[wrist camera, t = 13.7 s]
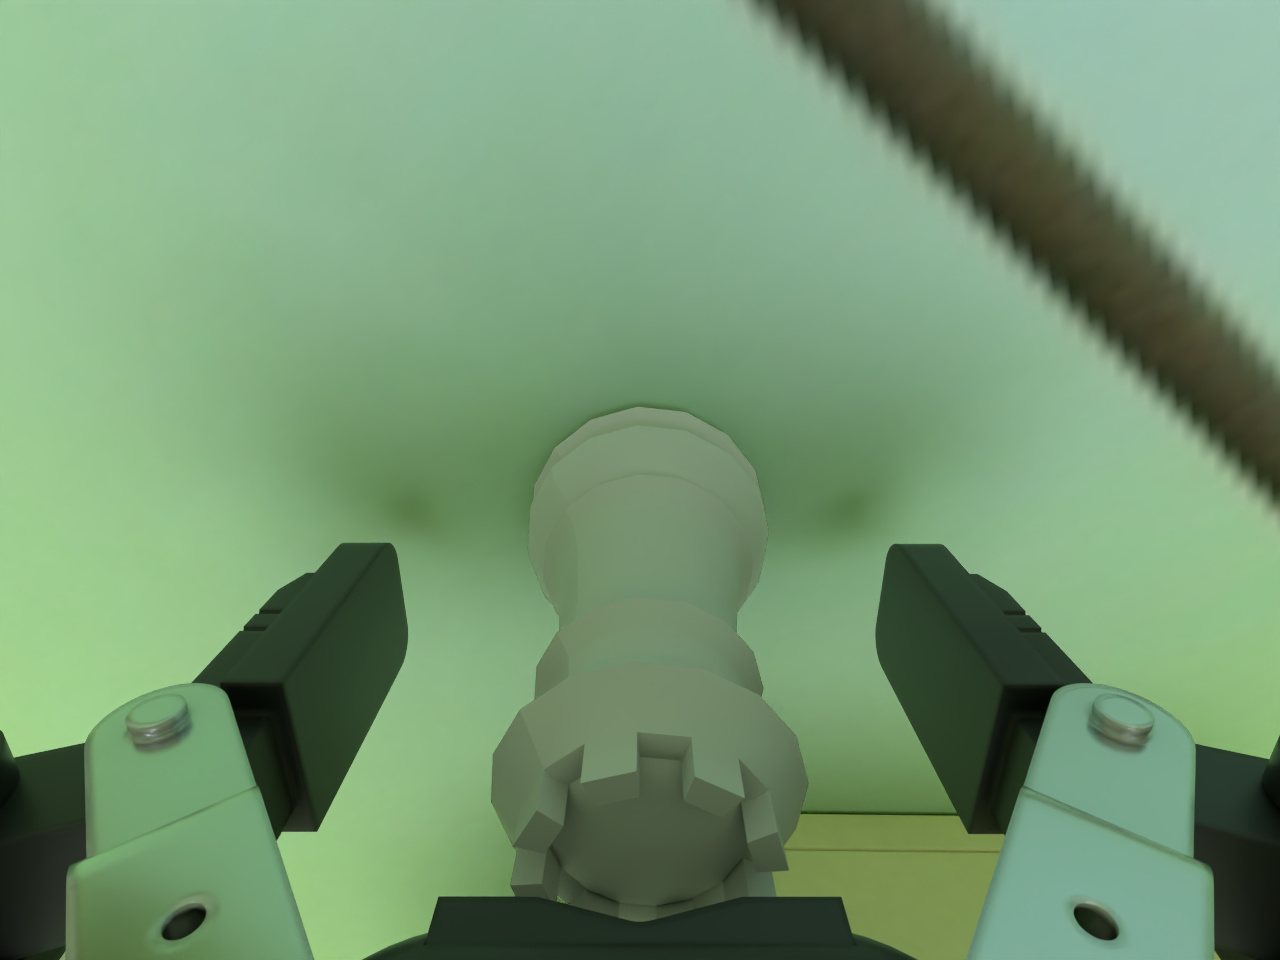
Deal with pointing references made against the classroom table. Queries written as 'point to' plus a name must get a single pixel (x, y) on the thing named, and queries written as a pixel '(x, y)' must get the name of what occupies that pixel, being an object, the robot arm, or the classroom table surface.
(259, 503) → the classroom table surface
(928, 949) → the cream cabinet box
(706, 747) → the rook chess piece
